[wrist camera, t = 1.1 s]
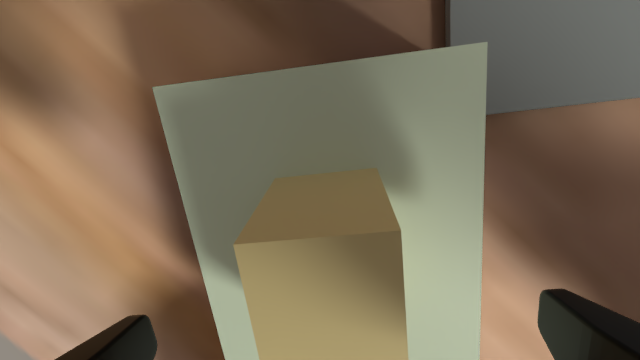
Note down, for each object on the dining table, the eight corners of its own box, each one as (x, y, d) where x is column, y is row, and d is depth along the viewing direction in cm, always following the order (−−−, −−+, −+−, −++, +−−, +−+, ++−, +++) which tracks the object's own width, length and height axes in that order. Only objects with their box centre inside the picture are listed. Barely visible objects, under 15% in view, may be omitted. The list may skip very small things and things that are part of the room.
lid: (463, 46, 10) (612, 13, 4) (462, 339, 13) (547, 524, 8) (180, 85, 11) (16, 96, 5) (244, 350, 14) (184, 525, 9)
